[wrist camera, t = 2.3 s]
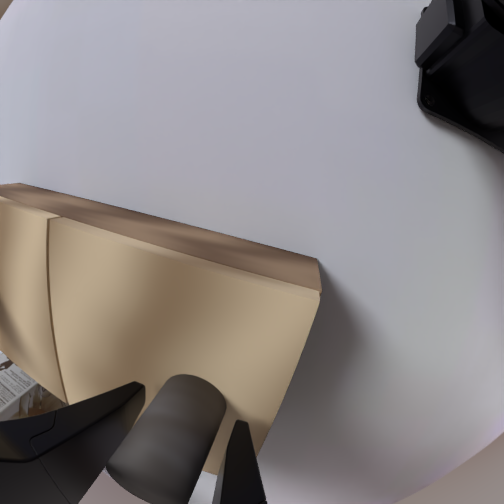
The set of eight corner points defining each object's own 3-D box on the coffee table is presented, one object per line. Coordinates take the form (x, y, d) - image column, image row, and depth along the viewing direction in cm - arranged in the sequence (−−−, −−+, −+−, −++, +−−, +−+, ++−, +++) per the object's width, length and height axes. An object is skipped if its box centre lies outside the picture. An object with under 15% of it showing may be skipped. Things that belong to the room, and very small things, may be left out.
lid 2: (319, 291, 8) (329, 410, 3) (246, 470, 11) (222, 552, 6) (63, 217, 9) (-41, 241, 5) (77, 397, 12) (24, 448, 7)
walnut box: (317, 258, 12) (322, 290, 8) (261, 418, 15) (249, 469, 11) (19, 182, 15) (-24, 187, 11) (22, 308, 17) (-12, 325, 13)
